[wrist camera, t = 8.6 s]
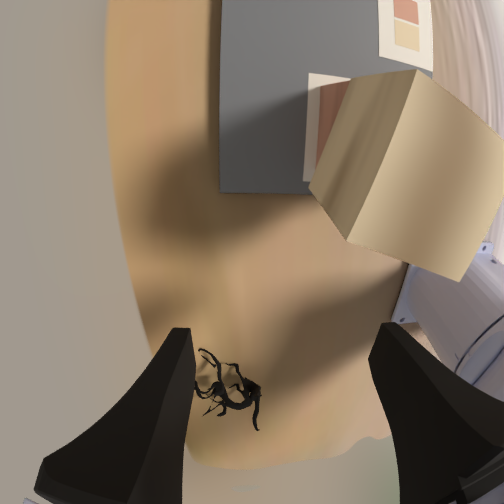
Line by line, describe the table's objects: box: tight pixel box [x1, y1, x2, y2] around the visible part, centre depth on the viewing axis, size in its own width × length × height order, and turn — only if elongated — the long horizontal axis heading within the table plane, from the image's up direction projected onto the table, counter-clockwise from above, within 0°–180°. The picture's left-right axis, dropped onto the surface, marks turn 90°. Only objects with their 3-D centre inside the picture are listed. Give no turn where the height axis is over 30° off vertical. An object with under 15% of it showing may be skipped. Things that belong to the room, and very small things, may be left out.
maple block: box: [308, 69, 504, 282], centre depth 9 cm, size 5×5×5 cm
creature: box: [194, 349, 262, 431], centre depth 24 cm, size 8×5×8 cm
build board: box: [219, 0, 433, 195], centre depth 14 cm, size 13×16×1 cm
